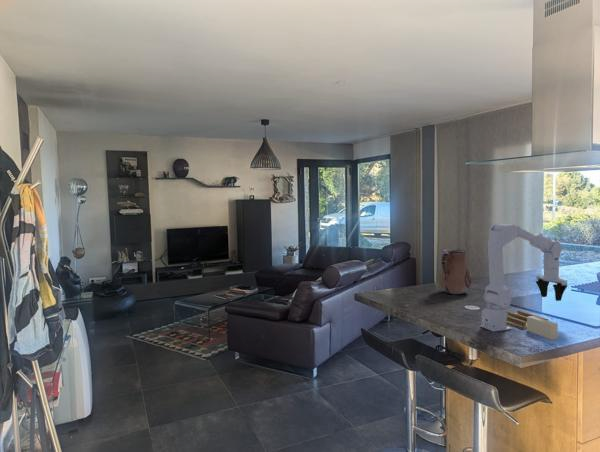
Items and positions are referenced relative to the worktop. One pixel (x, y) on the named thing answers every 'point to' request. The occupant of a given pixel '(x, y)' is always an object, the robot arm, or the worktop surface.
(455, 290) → the ceramic pitcher
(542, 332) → the cream rectangular block
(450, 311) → the worktop surface
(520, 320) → the ridged tan board
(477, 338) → the worktop surface
